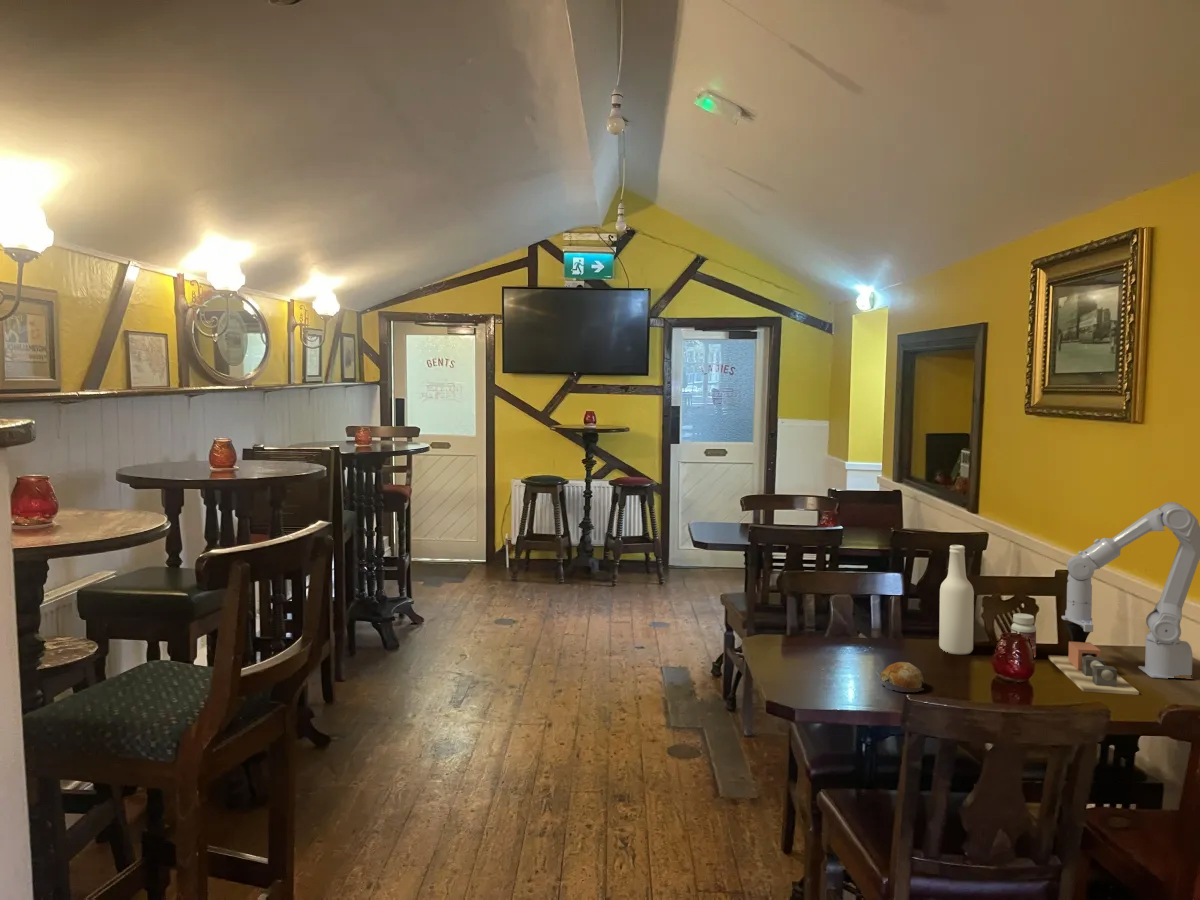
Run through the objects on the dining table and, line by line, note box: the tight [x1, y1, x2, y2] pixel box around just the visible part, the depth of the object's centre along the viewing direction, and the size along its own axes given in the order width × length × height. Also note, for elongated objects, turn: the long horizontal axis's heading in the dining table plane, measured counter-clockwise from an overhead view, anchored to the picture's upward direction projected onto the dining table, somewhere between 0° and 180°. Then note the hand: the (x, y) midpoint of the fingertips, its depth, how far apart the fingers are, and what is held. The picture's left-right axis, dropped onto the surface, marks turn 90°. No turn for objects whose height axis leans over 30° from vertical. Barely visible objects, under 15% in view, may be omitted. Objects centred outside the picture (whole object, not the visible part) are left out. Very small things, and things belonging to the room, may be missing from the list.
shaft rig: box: [1047, 653, 1140, 696], centre depth 206 cm, size 26×12×5 cm, turn 168°
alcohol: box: [938, 544, 975, 656], centre depth 227 cm, size 9×9×30 cm
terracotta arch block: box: [1067, 641, 1102, 669], centre depth 210 cm, size 7×5×5 cm
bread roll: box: [880, 661, 925, 688], centre depth 200 cm, size 10×10×8 cm
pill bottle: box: [1010, 612, 1037, 658], centre depth 222 cm, size 6×6×11 cm
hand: (1078, 651), depth 214 cm, fingers closed
